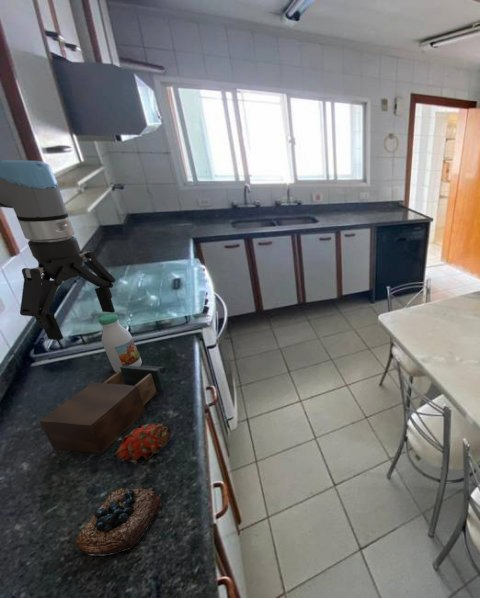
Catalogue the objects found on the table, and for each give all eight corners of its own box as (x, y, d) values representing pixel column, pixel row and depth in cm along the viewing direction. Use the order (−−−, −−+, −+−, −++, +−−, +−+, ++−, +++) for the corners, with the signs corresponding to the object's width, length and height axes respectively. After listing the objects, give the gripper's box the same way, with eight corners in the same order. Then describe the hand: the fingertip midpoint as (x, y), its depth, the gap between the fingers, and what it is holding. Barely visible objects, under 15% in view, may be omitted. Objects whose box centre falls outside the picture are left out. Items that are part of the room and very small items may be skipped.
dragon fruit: (181, 444, 88) (128, 474, 82) (168, 417, 90) (115, 444, 84) (173, 441, 81) (114, 473, 75) (159, 411, 83) (100, 440, 77)
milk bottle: (115, 377, 108) (91, 325, 99) (114, 365, 114) (91, 315, 105) (143, 368, 113) (123, 318, 104) (141, 357, 118) (122, 308, 109)
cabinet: (103, 408, 96) (93, 381, 92) (146, 411, 96) (137, 385, 92) (53, 449, 83) (38, 420, 79) (102, 453, 83) (90, 425, 79)
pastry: (168, 496, 74) (161, 479, 71) (131, 557, 63) (120, 540, 60) (118, 496, 73) (108, 479, 70) (71, 558, 62) (58, 541, 60)
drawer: (140, 376, 108) (134, 357, 105) (174, 379, 108) (169, 360, 105) (91, 416, 92) (82, 394, 89) (131, 420, 92) (123, 398, 88)
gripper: (1, 256, 59) (46, 354, 68) (117, 227, 82) (139, 303, 91) (-39, 253, 59) (11, 351, 68) (88, 224, 82) (113, 301, 91)
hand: (84, 324), depth 79 cm, fingers open, 13 cm apart
